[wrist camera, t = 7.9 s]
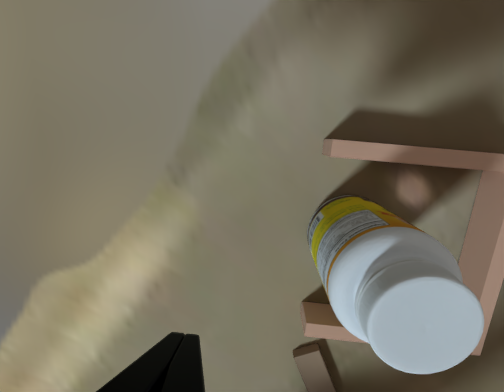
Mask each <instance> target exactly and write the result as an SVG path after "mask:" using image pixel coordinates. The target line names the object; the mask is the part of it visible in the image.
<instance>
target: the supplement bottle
mask: <svg viewBox="0 0 504 392" xmlns="http://www.w3.org/2000/svg"><path fill="white" fill-rule="evenodd" d="M307 237H308V244H309V248H310V251H311V254H312V256H313V259H314V262H315V264H316V267H317V270H318V272H319V275H320V278H321V281H322V283H323V286H324V289H325V291H326V294H327V297H328V299H329V302H330V305H331V306H332V309H333V311H334V313H335V315H336V317H337V318H338V320H339V321H340V322H341V324H342V325H343V326H344V327H345V328H346V329H347V330H348V331H349V332H350V333H351V334H353V335H354V336H356V337H357V338H359V339H361V340H363V341H365V342H367V343H370V345H371V347H372V349H373V350H374V352H375V353H376V354H377V355H378V356H379V357H380V358H381V359H382V360H383V361H384V362H385V363H387V364H388V365H390V366H392V367H393V368H395V369H398V370H400V371H403V372H407V373H413V374H431V373H436V372H440V371H444V370H447V369H449V368H451V367H453V366H455V365H457V364H459V363H460V362H462V361H463V360H464V359H465V358H467V357H468V356H469V355H470V354H471V353H472V352H473V350H474V349H475V348H476V346H477V345H478V343H479V341H480V338H481V336H482V333H483V329H484V314H483V309H482V306H481V304H480V302H479V300H478V298H477V297H476V295H475V294H474V293H473V292H472V291H471V290H470V289H469V288H468V287H467V286H466V285H465V284H463V280H462V275H461V271H460V268H459V266H458V264H457V262H456V260H455V258H454V257H453V255H452V254H451V253H450V251H449V250H448V249H447V248H446V247H445V246H444V245H443V244H441V243H440V242H439V241H438V240H436V239H435V238H433V237H432V236H430V235H428V234H427V233H425V232H423V231H422V230H420V229H418V228H417V227H415V226H413V225H412V224H410V223H408V222H407V221H405V220H403V219H401V218H400V217H398V216H396V215H395V214H393V213H391V212H390V211H388V210H386V209H385V208H383V207H381V206H380V205H378V204H376V203H375V202H373V201H371V200H369V199H366V198H364V197H361V196H355V195H345V196H339V197H336V198H333V199H331V200H329V201H327V202H325V203H324V204H323V205H322V206H320V207H319V208H318V209H317V211H316V212H315V213H314V215H313V216H312V218H311V220H310V223H309V226H308V232H307Z"/></svg>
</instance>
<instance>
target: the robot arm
mask: <svg viewBox="0 0 504 392" xmlns="http://www.w3.org/2000/svg"><path fill="white" fill-rule="evenodd" d="M96 392H205V386H204V377H203V367H202V358H201V348H200V339H199V335H195V334H186V335H185V334H184V333H178V332H171V333H170V334H168V335H167V336H166V337H165V338H163V339H162V340H161V341H160V342H158V343H157V344H156V345H154V346H153V347H152V348H151V349H149V350H148V351H147V352H146V353H144V354H143V355H142V356H141V357H139V358H138V359H137V360H136V361H134V362H133V363H132V364H130V365H129V366H128V367H127V368H125V369H124V370H123V371H122V372H120V373H119V374H118V375H117V376H115V377H114V378H113V379H112V380H110V381H109V382H108V383H106V384H105V385H104V386H103V387H101V388H100V389H99V390H98V391H96Z"/></svg>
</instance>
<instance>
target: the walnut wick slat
mask: <svg viewBox="0 0 504 392" xmlns="http://www.w3.org/2000/svg"><path fill="white" fill-rule="evenodd" d="M293 355H294V359H295V362H296V364H297V367H298V369H299V371H300V374H301V376H302V378H303V381H304V383H305V386H306V388H307V390H308V392H337V391H336V389H335V386H334V384H333V381H332V379H331V376H330V374H329V371H328V369H327V366H326V364H325V361H324V359H323V356H322V354H321V351H320V349H319V346H318V344H317V343H316V344H312V345H309V346H306V347H302V348H299V349H296V350H293Z"/></svg>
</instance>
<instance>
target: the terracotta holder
mask: <svg viewBox="0 0 504 392" xmlns="http://www.w3.org/2000/svg"><path fill="white" fill-rule="evenodd" d="M322 154H323V155H326V156H329V157H338V158H350V159H361V160H372V161H384V162H395V163H406V164H418V165H429V166H440V167H452V168H463V169H474V170H483V171H482V175H481V179H480V183H479V187H478V190H477V194H476V198H475V202H474V206H473V210H472V213H471V217H470V221H469V225H468V229H467V232H466V236H465V240H464V244H463V248H462V252H461V255H460V259H459V263H458V266H459V268H460V271H461V275H462V280H463V284H465V285H466V286H467V287H468V288H469V289H470V290H471V291H472V292H473V293H474V294H475V295H476V297H477V298H478V300H479V302H480V304H481V306H482V309H483V314H484V329H483V333H482V336H481V338H480V341H479V343H478V345H477V346H476V348H475V349H474V350H473V352H472V353H471V354H470V355H477V356H480V355H481V351H482V348H483V345H484V341H485V338H486V335H487V331H488V328H489V325H490V322H491V318H492V315H493V312H494V308H495V305H496V302H497V298H498V295H499V292H500V289H501V285H502V282H503V279H504V154H498V153H487V152H475V151H463V150H452V149H440V148H429V147H417V146H405V145H394V144H382V143H371V142H359V141H347V140H336V139H324V144H323V151H322ZM300 314H301V319H302V325H303V330H304V336H308V337H317V338H326V339H335V340H343V341H352V342H361V343H367V342H365V341H363V340H361V339H359V338H357V337H356V336H354V335H353V334H351V333H350V332H349V331H348V330H347V329H346V328H345V327H344V326H343V325H342V324H341V322H340V321H339V320H338V318H337V317H336V315H335V313H334V311H333V309H332V306H331V305H330V304H322V303H313V302H304V301H302V305H301V312H300Z"/></svg>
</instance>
